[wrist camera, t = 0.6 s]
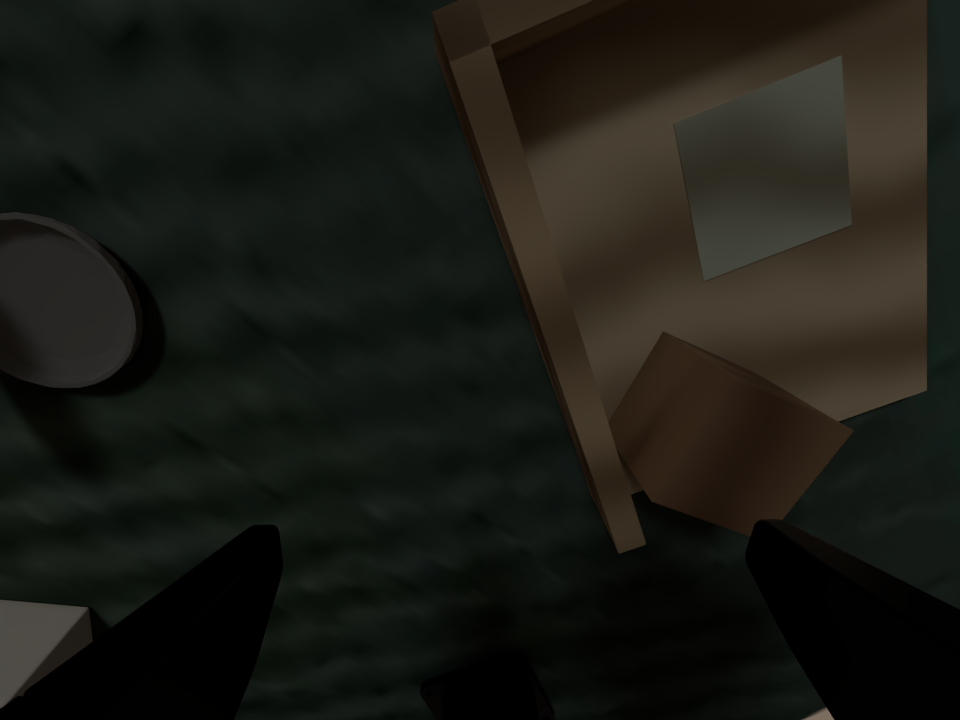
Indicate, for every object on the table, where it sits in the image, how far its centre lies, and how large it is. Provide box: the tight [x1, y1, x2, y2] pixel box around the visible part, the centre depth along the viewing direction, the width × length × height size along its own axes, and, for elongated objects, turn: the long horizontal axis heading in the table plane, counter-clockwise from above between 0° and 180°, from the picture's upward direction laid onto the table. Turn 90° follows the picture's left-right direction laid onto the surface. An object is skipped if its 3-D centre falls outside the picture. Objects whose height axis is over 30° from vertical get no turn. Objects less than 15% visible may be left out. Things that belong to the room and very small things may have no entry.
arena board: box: [432, 0, 927, 554], centre depth 17 cm, size 20×16×4 cm
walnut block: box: [608, 331, 853, 536], centre depth 18 cm, size 5×5×5 cm
